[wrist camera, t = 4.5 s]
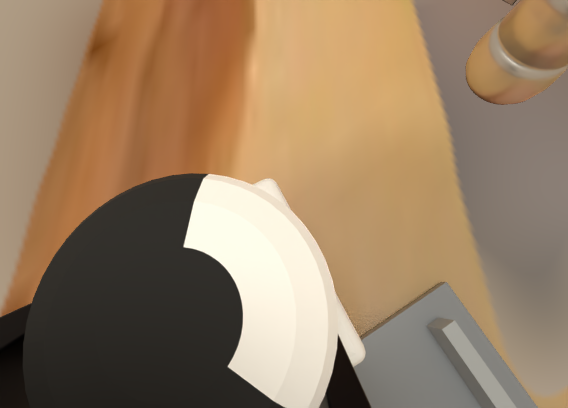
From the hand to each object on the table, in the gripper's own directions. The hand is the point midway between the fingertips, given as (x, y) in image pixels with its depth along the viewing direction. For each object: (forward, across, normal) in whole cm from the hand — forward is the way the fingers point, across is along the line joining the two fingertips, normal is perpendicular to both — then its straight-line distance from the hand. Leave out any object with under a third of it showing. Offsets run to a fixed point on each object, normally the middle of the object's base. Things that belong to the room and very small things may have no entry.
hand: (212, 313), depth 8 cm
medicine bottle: (+6, 0, +6) cm, 9 cm away
